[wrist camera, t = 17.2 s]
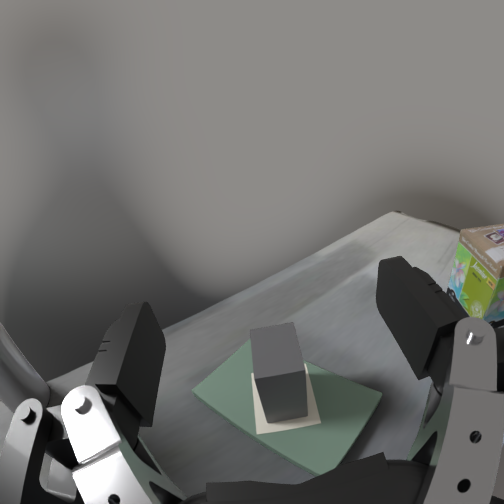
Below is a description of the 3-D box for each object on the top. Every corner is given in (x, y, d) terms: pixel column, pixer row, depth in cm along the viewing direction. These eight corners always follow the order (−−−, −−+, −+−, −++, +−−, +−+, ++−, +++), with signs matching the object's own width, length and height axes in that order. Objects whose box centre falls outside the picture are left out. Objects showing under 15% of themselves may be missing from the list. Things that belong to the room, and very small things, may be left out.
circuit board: (194, 396, 34) (183, 376, 32) (254, 343, 41) (249, 321, 39) (326, 481, 21) (328, 470, 19) (380, 399, 28) (387, 378, 26)
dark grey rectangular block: (307, 416, 28) (305, 369, 23) (267, 423, 28) (254, 378, 23) (298, 373, 33) (293, 321, 29) (262, 379, 33) (249, 329, 29)
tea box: (467, 356, 29) (501, 266, 22) (439, 311, 38) (457, 227, 31) (528, 328, 28) (559, 247, 21) (499, 293, 37) (519, 217, 30)
